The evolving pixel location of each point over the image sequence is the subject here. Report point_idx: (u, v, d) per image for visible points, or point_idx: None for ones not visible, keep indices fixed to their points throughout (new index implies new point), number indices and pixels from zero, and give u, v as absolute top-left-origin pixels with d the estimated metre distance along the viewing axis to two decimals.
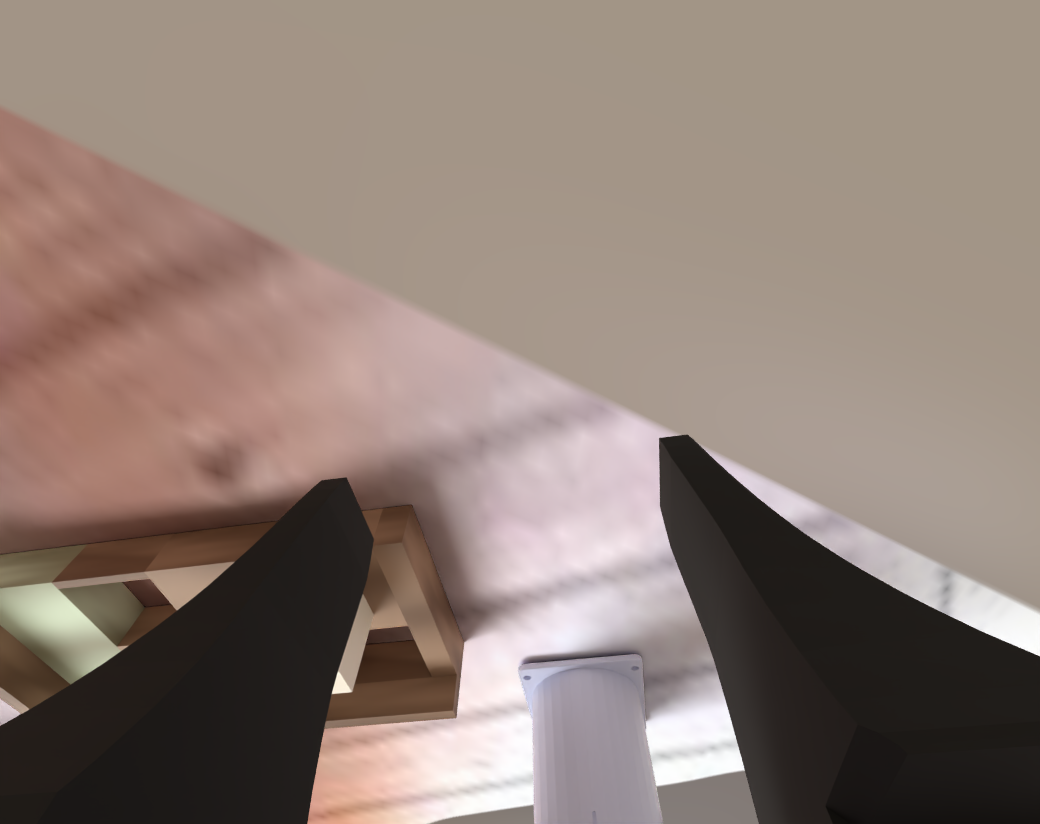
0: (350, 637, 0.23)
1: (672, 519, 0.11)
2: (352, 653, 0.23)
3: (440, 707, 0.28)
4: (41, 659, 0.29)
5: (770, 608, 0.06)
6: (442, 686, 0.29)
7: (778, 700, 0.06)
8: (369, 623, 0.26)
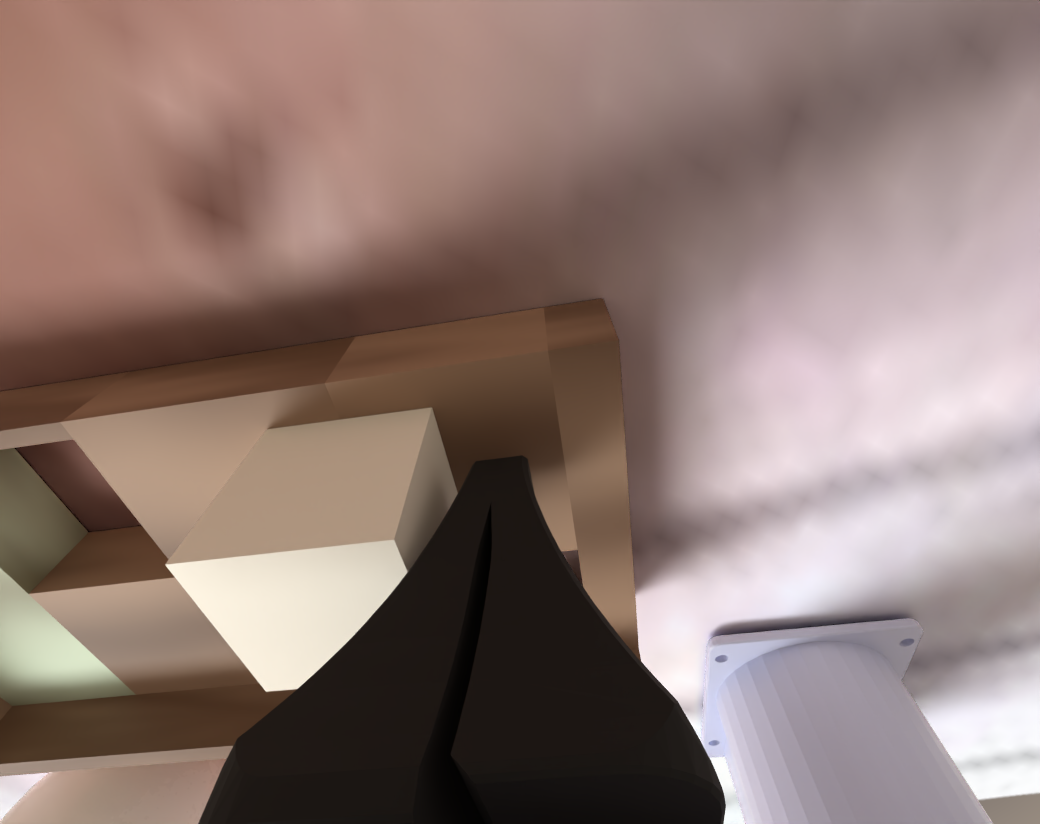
0: None
1: None
2: None
3: None
4: None
5: (484, 635, 0.06)
6: None
7: None
8: None
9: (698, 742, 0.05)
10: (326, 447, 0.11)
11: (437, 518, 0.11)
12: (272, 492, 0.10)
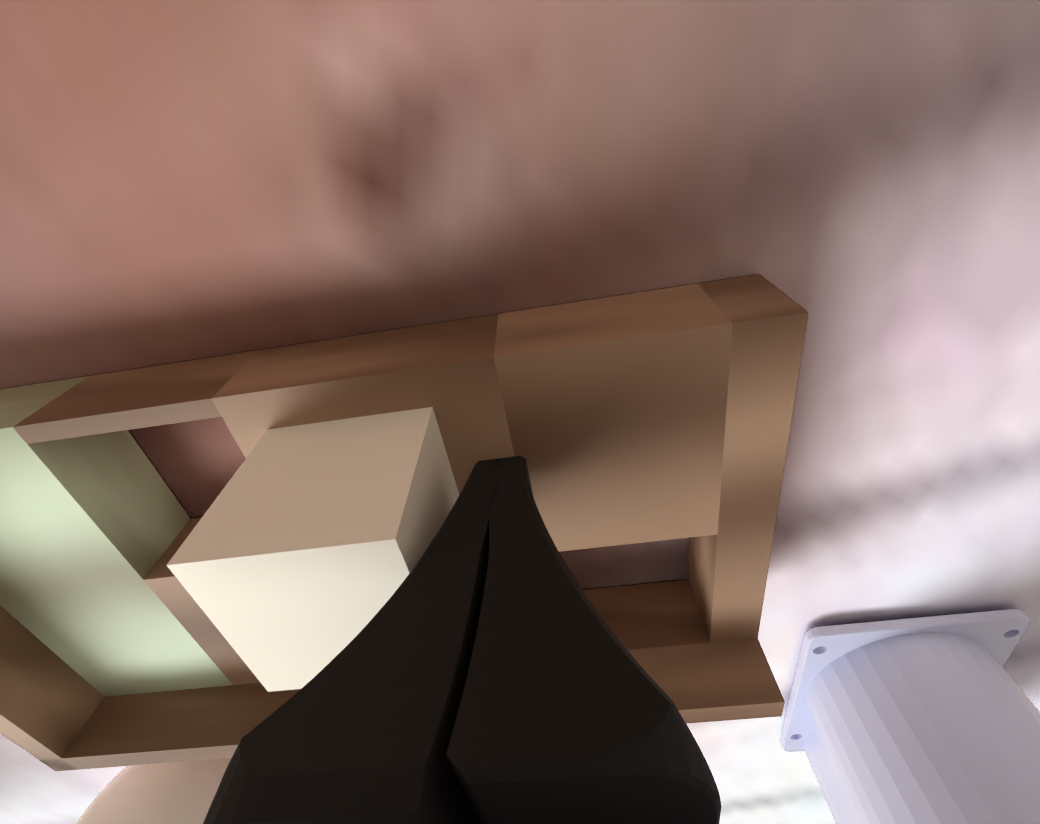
0: None
1: None
2: None
3: (755, 695, 0.15)
4: (2, 606, 0.15)
5: (481, 635, 0.06)
6: (739, 658, 0.16)
7: None
8: None
9: (694, 743, 0.05)
10: (327, 447, 0.11)
11: (438, 517, 0.11)
12: (273, 492, 0.10)
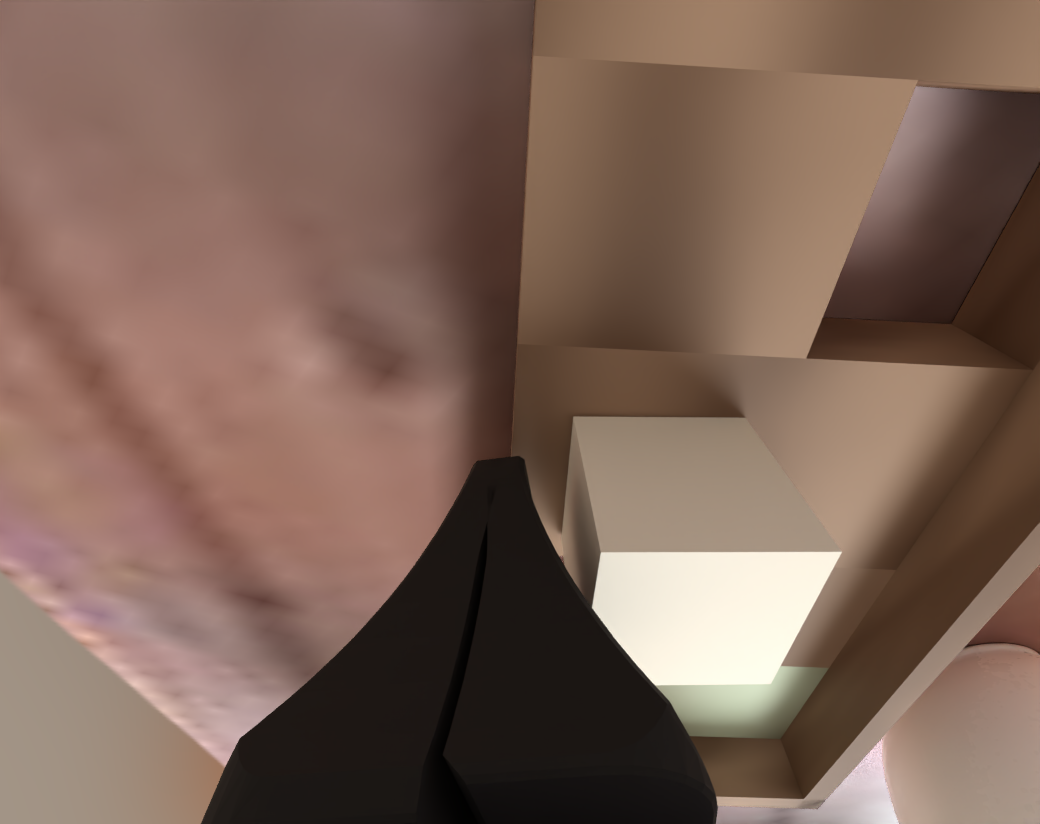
0: (709, 484, 0.10)
1: None
2: (750, 499, 0.09)
3: None
4: None
5: (478, 636, 0.06)
6: None
7: None
8: (747, 433, 0.11)
9: (690, 743, 0.05)
10: (571, 518, 0.12)
11: (665, 470, 0.10)
12: (575, 583, 0.11)
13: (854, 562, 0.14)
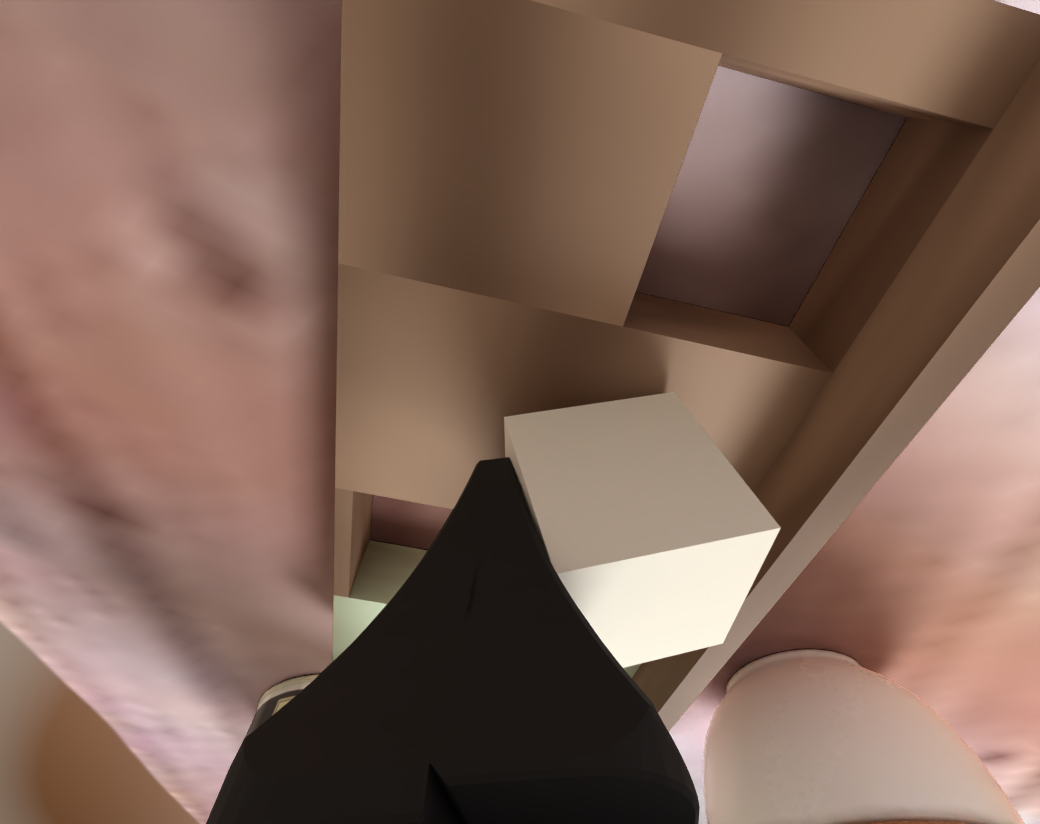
0: (650, 474, 0.10)
1: None
2: (691, 485, 0.09)
3: None
4: None
5: (465, 637, 0.06)
6: None
7: None
8: (678, 409, 0.11)
9: (672, 745, 0.05)
10: None
11: (606, 465, 0.10)
12: None
13: None
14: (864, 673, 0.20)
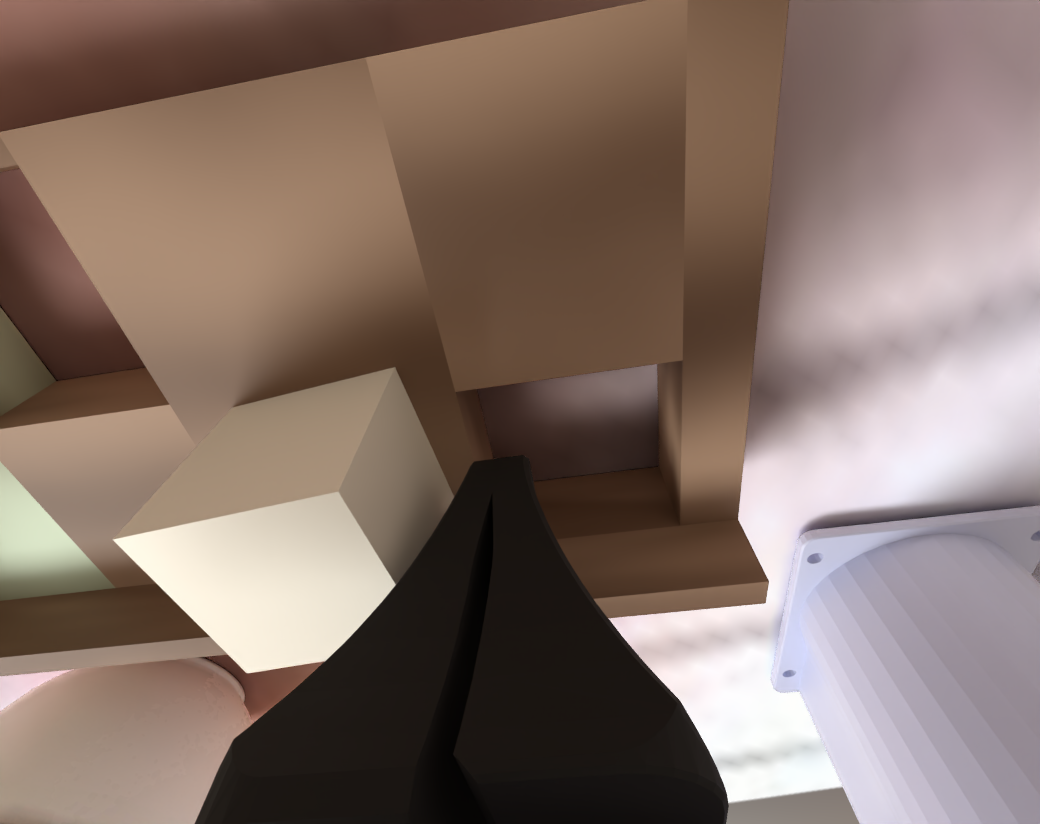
0: (416, 521, 0.10)
1: None
2: None
3: (733, 576, 0.12)
4: None
5: (486, 635, 0.06)
6: (715, 539, 0.13)
7: None
8: None
9: (702, 742, 0.05)
10: (286, 416, 0.10)
11: (406, 479, 0.10)
12: (227, 462, 0.09)
13: None
14: (245, 716, 0.21)
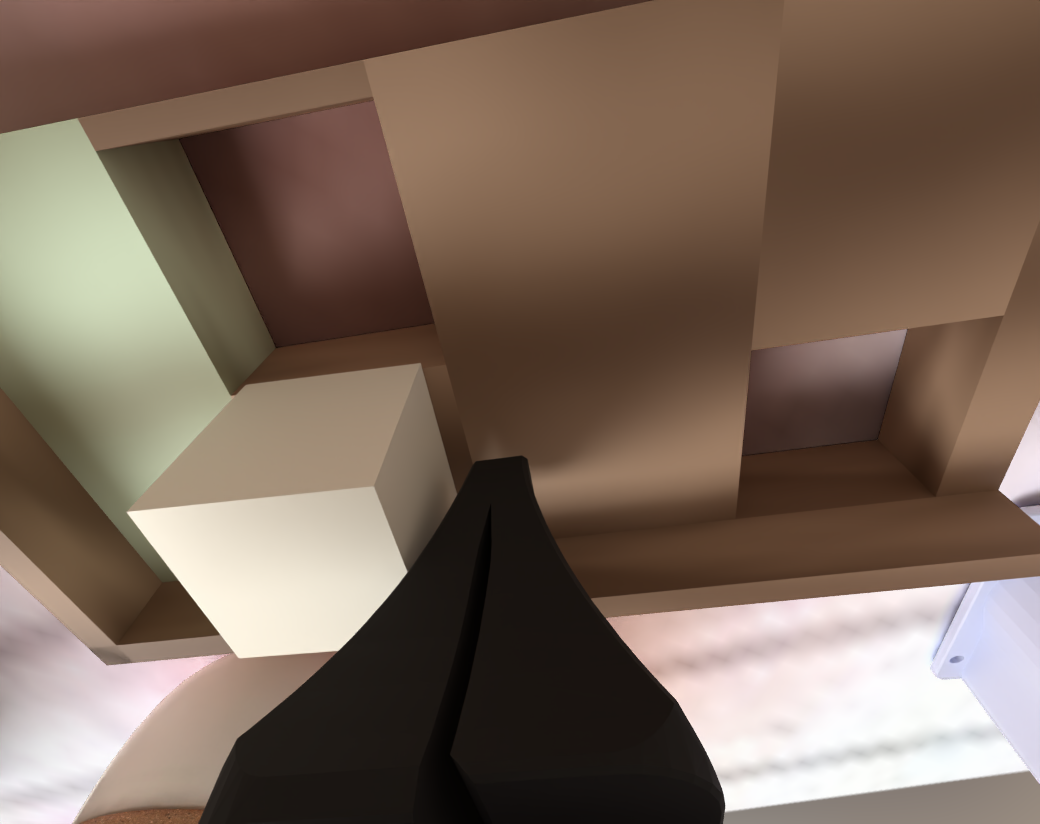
0: (429, 519, 0.10)
1: None
2: None
3: (1025, 546, 0.11)
4: (45, 440, 0.12)
5: (483, 635, 0.06)
6: (983, 510, 0.12)
7: None
8: None
9: (698, 742, 0.05)
10: (307, 400, 0.10)
11: (423, 477, 0.10)
12: (247, 443, 0.09)
13: None
14: None
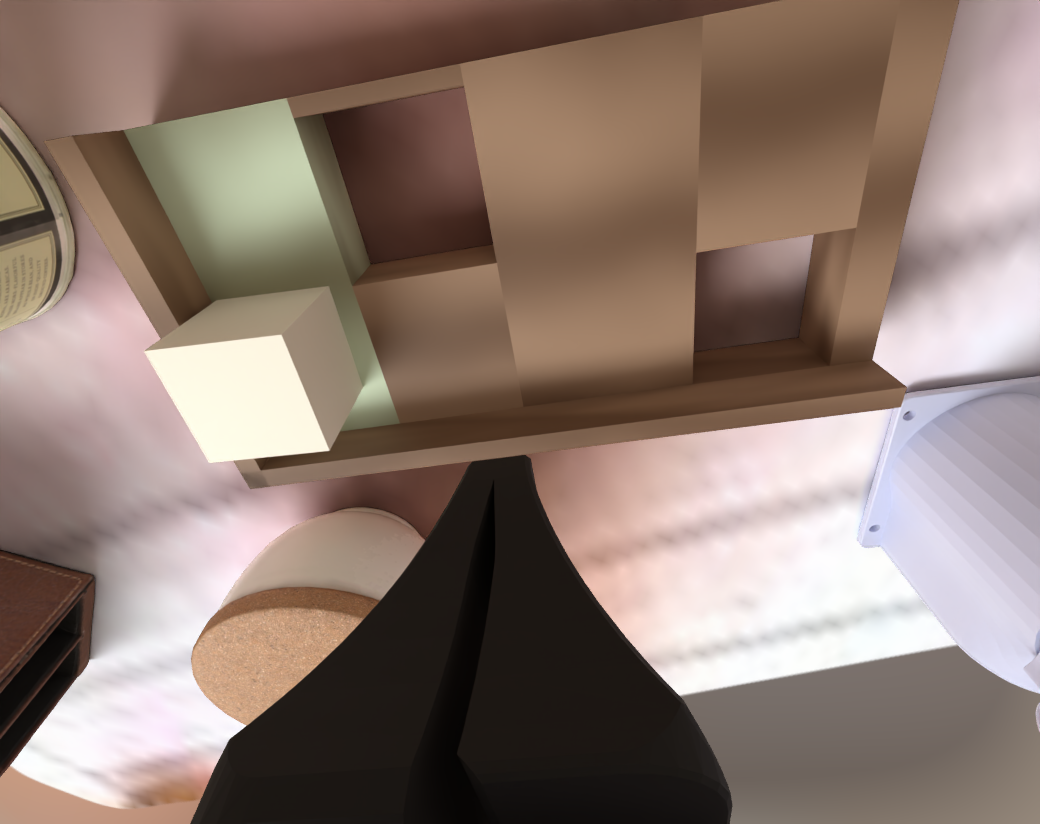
0: (329, 379, 0.16)
1: None
2: (331, 402, 0.16)
3: (880, 386, 0.17)
4: None
5: (489, 635, 0.06)
6: (859, 370, 0.18)
7: None
8: (356, 391, 0.19)
9: (705, 742, 0.05)
10: (253, 305, 0.16)
11: (326, 353, 0.16)
12: (214, 323, 0.15)
13: (524, 376, 0.19)
14: None
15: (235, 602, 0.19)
